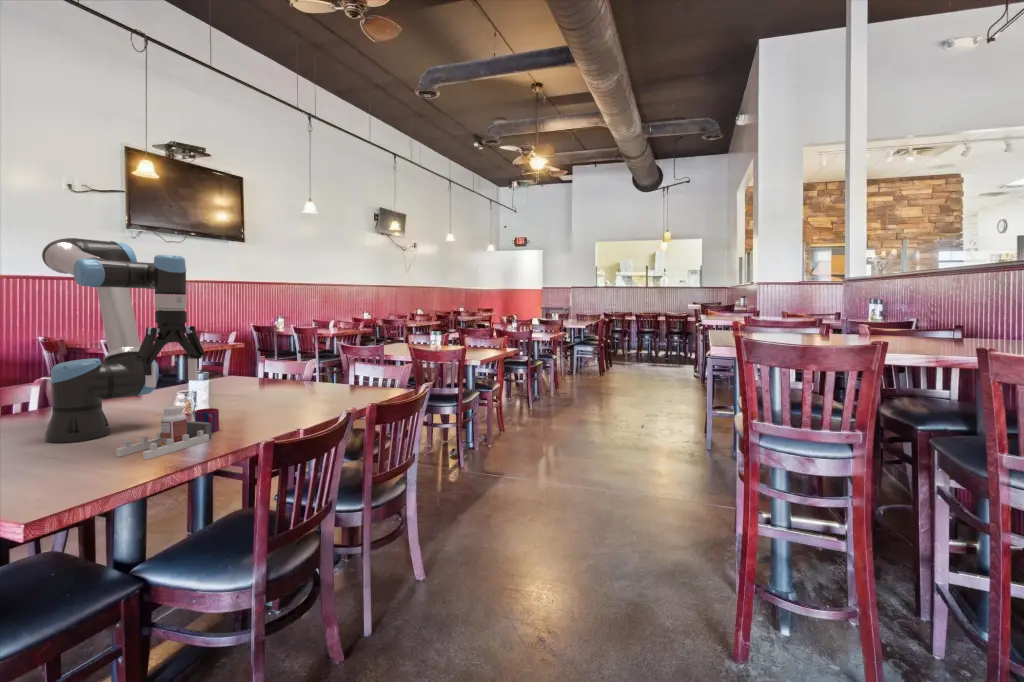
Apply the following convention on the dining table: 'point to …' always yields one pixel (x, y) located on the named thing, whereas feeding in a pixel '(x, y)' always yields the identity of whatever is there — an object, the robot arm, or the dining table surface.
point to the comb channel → (168, 441)
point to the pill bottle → (173, 424)
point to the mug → (208, 417)
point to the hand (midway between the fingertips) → (172, 383)
